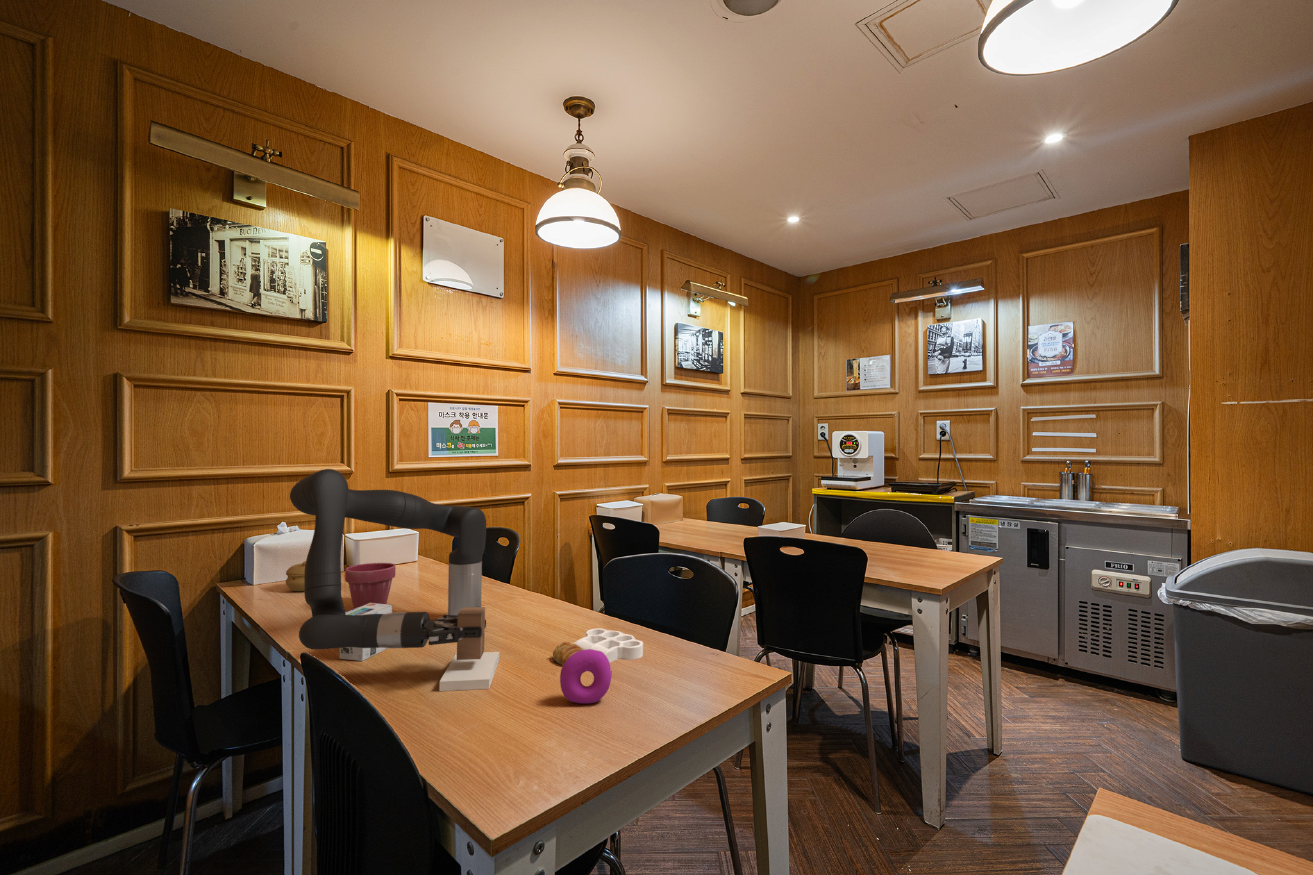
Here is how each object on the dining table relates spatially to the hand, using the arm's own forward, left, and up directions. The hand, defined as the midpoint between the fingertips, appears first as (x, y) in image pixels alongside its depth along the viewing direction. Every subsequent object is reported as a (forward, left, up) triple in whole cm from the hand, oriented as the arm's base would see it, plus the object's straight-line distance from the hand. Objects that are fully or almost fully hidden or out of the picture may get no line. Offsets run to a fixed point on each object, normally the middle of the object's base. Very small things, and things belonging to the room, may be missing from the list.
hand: (483, 627), depth 126 cm
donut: (+16, +22, -11) cm, 30 cm away
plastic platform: (0, -2, -10) cm, 11 cm away
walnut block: (0, -3, -6) cm, 7 cm away
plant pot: (-58, -44, -11) cm, 73 cm away
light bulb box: (-17, -31, -11) cm, 37 cm away
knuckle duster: (-12, +29, -11) cm, 33 cm away
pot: (-83, -74, -11) cm, 111 cm away
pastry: (-6, +19, -11) cm, 23 cm away
